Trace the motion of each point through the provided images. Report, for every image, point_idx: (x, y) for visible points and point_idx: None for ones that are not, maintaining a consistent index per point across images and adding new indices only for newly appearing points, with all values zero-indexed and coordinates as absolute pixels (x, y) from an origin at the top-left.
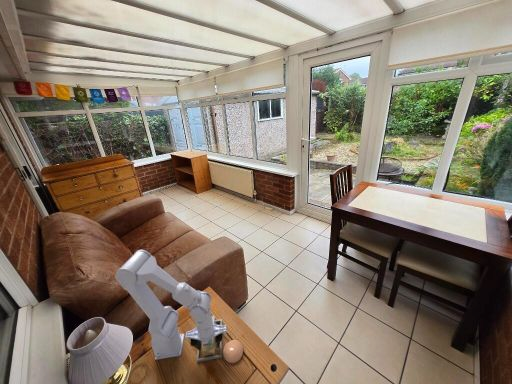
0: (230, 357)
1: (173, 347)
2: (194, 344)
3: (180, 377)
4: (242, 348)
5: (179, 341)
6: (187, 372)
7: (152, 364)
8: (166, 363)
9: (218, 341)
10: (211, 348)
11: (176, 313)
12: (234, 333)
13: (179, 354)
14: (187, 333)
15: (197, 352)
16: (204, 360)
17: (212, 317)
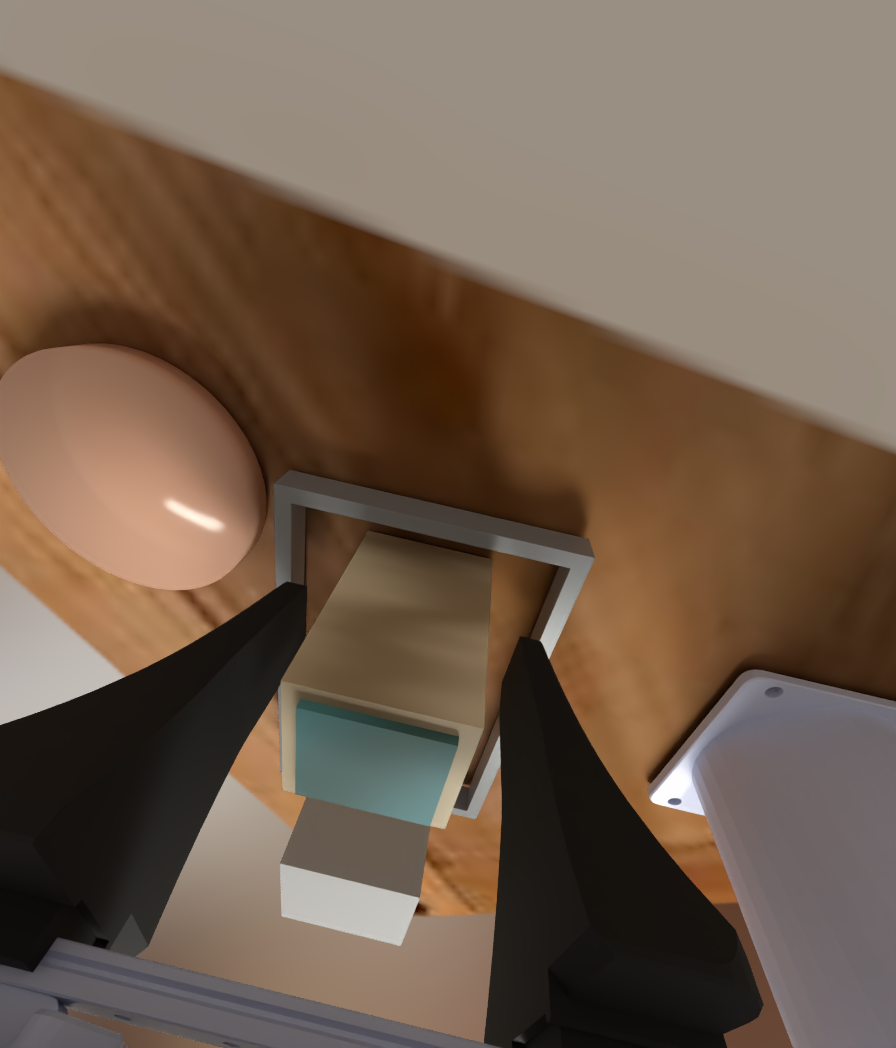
0: (143, 418)
1: (882, 825)
2: (662, 976)
3: (846, 457)
4: (5, 460)
5: (758, 825)
6: (735, 477)
7: None
8: None
9: (50, 751)
10: (353, 623)
11: None
12: (166, 625)
13: (761, 681)
14: None
15: (562, 628)
16: (496, 519)
17: (306, 914)
